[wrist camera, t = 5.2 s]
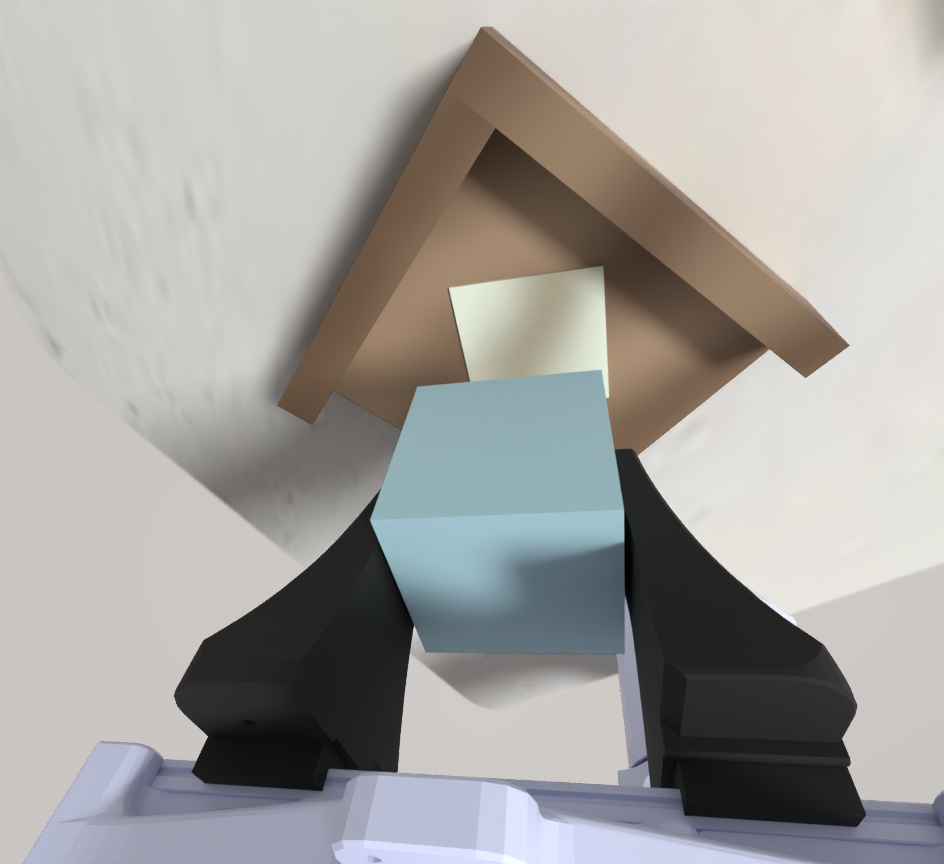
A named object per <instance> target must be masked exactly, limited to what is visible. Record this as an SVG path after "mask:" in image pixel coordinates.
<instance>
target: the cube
mask: <svg viewBox="0 0 944 864" xmlns="http://www.w3.org/2000/svg"><path fill="white" fill-rule="evenodd" d="M370 521H371V524H372V526H373V528H374V531H375V533H376V536H377V538H378V540H379V543H380V545H381V547H382V550H383V552H384V554H385V557H386V559H387V561H388V564H389V566H390V569H391V571H392V573H393V576H394V578H395V580H396V583H397V585H398V587H399V590H400V592H401V595H402V597H403V599H404V602H405V604H406V606H407V609H408V611H409V613H410V616H411V618H412V621H413V623H414V625H415V628H416V630H417V632H418V635H419V637H420V639H421V642H422V644H423V646H424V649H425V651H426V652H447V653H540V654H625V587H624V506H623V499H622V493H621V487H620V481H619V475H618V469H617V462H616V456H615V450H614V444H613V438H612V431H611V425H610V419H609V413H608V407H607V400H606V394H605V388H604V382H603V376H602V370H592V371H581V372H570V373H559V374H548V375H538V376H527V377H516V378H505V379H495V380H484V381H473V382H462V383H451V384H441V385H430V386H419V387H417V389H416V392H415V395H414V398H413V400H412V403H411V406H410V409H409V412H408V415H407V417H406V420H405V423H404V426H403V429H402V431H401V434H400V437H399V440H398V443H397V446H396V448H395V451H394V454H393V457H392V460H391V463H390V465H389V468H388V471H387V474H386V477H385V479H384V482H383V485H382V488H381V491H380V494H379V496H378V499H377V502H376V505H375V508H374V511H373V513H372V516H371V519H370Z"/></svg>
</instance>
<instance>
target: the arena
mask: <svg viewBox="0 0 944 864" xmlns="http://www.w3.org/2000/svg"><path fill="white" fill-rule="evenodd" d="M848 346H850V345H849V344H848V343H847V342H846V341H845V340H844V339H843V338H842V337H841V336H840V335H839V334H838V333H837V332H836V331H835V330H834V329H833V328H832V326H831V325H830V324H829V323H828V322H827V321H826V320H825V319H824V318H823V317H822V316H821V315H820V314H819V313H818V312H817V311H816V310H815V308H814V307H813V306H812V305H811V304H810V303H809V302H808V301H807V300H806V299H804V298H803V297H802V296H801V295H800V294H799V293H798V292H796V291H795V290H794V289H793V288H792V287H791V286H790V285H788V284H787V283H786V282H785V281H784V280H783V279H781V278H780V277H779V276H778V275H777V274H776V273H775V272H773V271H772V270H771V269H770V268H769V267H768V266H767V265H765V264H764V263H763V262H762V261H761V260H760V259H758V258H757V257H756V256H755V255H754V254H753V253H752V252H750V251H749V250H748V249H747V248H746V247H745V246H744V245H742V244H741V243H740V242H739V241H738V240H737V239H735V238H734V237H733V236H732V235H731V234H730V233H729V232H727V231H726V230H725V229H724V228H723V227H722V226H721V225H719V224H718V223H717V222H716V221H715V220H714V219H713V218H711V217H710V216H709V215H708V214H707V213H706V212H704V211H703V210H702V209H701V208H700V207H699V206H698V205H696V204H695V203H694V202H693V201H692V200H691V199H690V198H688V197H687V196H686V195H685V194H684V193H683V192H681V191H680V190H679V189H678V188H677V187H676V186H675V185H673V184H672V183H671V182H670V181H669V180H668V179H667V178H665V177H664V176H663V175H662V174H661V173H660V172H658V171H657V170H656V169H655V168H654V167H653V166H652V165H650V164H649V163H648V162H647V161H646V160H645V159H644V158H642V157H641V156H640V155H639V154H638V153H637V152H635V151H634V150H633V149H632V148H631V147H630V146H629V145H627V144H626V143H625V142H624V141H623V140H622V139H621V138H619V137H618V136H617V135H616V134H615V133H614V132H612V131H611V130H610V129H609V128H608V127H607V126H606V125H604V124H603V123H602V122H601V121H600V120H599V119H598V118H596V117H595V116H594V115H593V114H592V113H591V112H590V111H588V110H587V109H586V108H585V107H584V106H583V105H581V104H580V103H579V102H578V101H577V100H576V99H575V98H573V97H572V96H571V95H570V94H569V93H568V92H567V91H565V90H564V89H563V88H562V87H561V86H560V85H558V84H557V83H556V82H555V81H554V80H553V79H552V78H550V77H549V76H548V75H547V74H546V73H545V72H544V71H542V70H541V69H540V68H539V67H538V66H537V65H535V64H534V63H533V62H532V61H531V60H530V59H529V58H527V57H526V56H525V55H524V54H523V53H522V52H521V51H519V50H518V49H517V48H516V47H515V46H514V45H512V44H511V43H510V42H509V41H508V40H507V39H506V38H504V37H503V36H502V35H501V34H500V33H499V32H498V31H496V30H495V29H494V28H493V27H481V28H480V30H479V32H478V34H477V35H476V37H475V39H474V41H473V43H472V45H471V47H470V48H469V50H468V52H467V54H466V56H465V58H464V60H463V61H462V63H461V65H460V67H459V69H458V71H457V73H456V74H455V76H454V78H453V80H452V82H451V84H450V86H449V87H448V89H447V91H446V93H445V95H444V97H443V99H442V100H441V102H440V104H439V106H438V108H437V110H436V112H435V113H434V115H433V117H432V119H431V121H430V123H429V125H428V126H427V128H426V130H425V132H424V134H423V136H422V138H421V139H420V141H419V143H418V145H417V147H416V149H415V151H414V152H413V154H412V156H411V158H410V160H409V162H408V164H407V165H406V167H405V169H404V171H403V173H402V175H401V177H400V178H399V180H398V182H397V184H396V186H395V188H394V190H393V191H392V193H391V195H390V197H389V199H388V201H387V203H386V204H385V206H384V208H383V210H382V212H381V214H380V216H379V218H378V219H377V221H376V223H375V225H374V227H373V229H372V231H371V232H370V234H369V236H368V238H367V240H366V242H365V244H364V245H363V247H362V249H361V251H360V253H359V255H358V257H357V258H356V260H355V262H354V264H353V266H352V268H351V270H350V271H349V273H348V275H347V277H346V279H345V281H344V283H343V284H342V286H341V288H340V290H339V292H338V294H337V296H336V297H335V299H334V301H333V303H332V305H331V307H330V309H329V310H328V312H327V314H326V316H325V318H324V320H323V322H322V323H321V325H320V327H319V329H318V331H317V333H316V335H315V336H314V338H313V340H312V342H311V344H310V346H309V348H308V349H307V351H306V353H305V355H304V357H303V359H302V361H301V362H300V364H299V366H298V368H297V370H296V372H295V374H294V375H293V377H292V379H291V381H290V383H289V385H288V387H287V388H286V390H285V392H284V394H283V396H282V398H281V400H280V401H279V403H278V405H277V406H279V407H281V408H283V409H285V410H286V411H288V412H290V413H292V414H294V415H295V416H297V417H299V418H301V419H303V420H304V421H306V422H308V423H310V424H312V425H313V423H314V421H315V420H316V418H317V417H318V415H319V413H320V412H321V410H322V408H323V407H324V405H325V404H326V402H327V400H328V399H329V397H330V395H331V394H332V392H333V391H335V392H337V393H338V394H340V395H342V396H343V397H345V398H347V399H349V400H350V401H352V402H354V403H356V404H357V405H359V406H361V407H363V408H364V409H366V410H368V411H369V412H371V413H373V414H375V415H376V416H378V417H380V418H382V419H383V420H385V421H387V422H388V423H390V424H392V425H394V426H395V427H397V428H399V429H401V430H402V429H403V426H404V423H405V420H406V417H407V415H408V412H409V409H410V406H411V403H412V400H413V398H414V395H415V392H416V389H417V387H419V386H430V385H441V384H451V383H462V382H473V381H484V380H495V379H505V378H516V377H527V376H538V375H548V374H559V373H570V372H581V371H592V370H602V376H603V382H604V388H605V394H606V400H607V407H608V413H609V419H610V425H611V431H612V438H613V444H614V450H615V449H633V450H634V451H635V452H636V454H637V455H639V454H640V453H641V452H642V451H644V450H645V449H646V448H647V447H649V446H650V445H651V444H652V443H654V442H655V441H656V440H657V439H659V438H660V437H661V436H662V435H664V434H665V433H666V432H667V431H669V430H670V429H671V428H672V427H674V426H675V425H676V424H677V423H678V422H680V421H681V420H682V419H683V418H685V417H686V416H687V415H688V414H690V413H691V412H692V411H693V410H695V409H696V408H697V407H698V406H700V405H701V404H702V403H703V402H705V401H706V400H707V399H708V398H710V397H711V396H712V395H713V394H715V393H716V392H717V391H718V390H719V389H721V388H722V387H723V386H724V385H726V384H727V383H728V382H729V381H731V380H732V379H733V378H734V377H736V376H737V375H738V374H739V373H741V372H742V371H743V370H744V369H746V368H747V367H748V366H749V365H751V364H752V363H753V362H754V361H756V360H757V359H758V358H759V357H760V356H762V355H763V354H764V353H765V352H767V351H768V350H769V349H770V350H771V351H773V352H774V353H775V354H776V355H778V356H779V357H780V358H781V359H783V360H784V361H785V362H786V363H788V364H789V365H790V366H791V367H792V368H794V369H795V370H796V371H797V372H799V373H800V374H801V375H802V376H804V377H805V378H806V377H808V376H809V375H811V374H812V373H813V372H815V371H816V370H817V369H819V368H820V367H821V366H823V365H824V364H825V363H827V362H828V361H829V360H831V359H832V358H834V357H835V356H836V355H838V354H839V353H840V352H842V351H843V350H844V349H846V348H847V347H848Z"/></svg>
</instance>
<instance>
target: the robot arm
mask: <svg viewBox="0 0 944 864" xmlns="http://www.w3.org/2000/svg"><path fill="white" fill-rule="evenodd" d="M615 456H616V462H617V469H618V475H619V481H620V487H621V493H622V499H623V506H624V587H625V654H616V655H617V664H618V673H619V682H620V691H621V700H622V708H623V717H624V727H625V735H626V744H627V753H628V762H629V769H626V770H619V771H618V781H619V786H617V785H600V784H582V783H565V782H546V781H530V780H513V779H496V778H479V777H461V776H444V775H427V774H426V775H425V774H410V773H397V771H398V759H399V746H400V733H401V723H402V714H403V703H404V694H405V686H406V678H407V670H408V662H409V655H410V648H411V641H412V634H413V628H414V623H413V621H412V618H411V616H410V613H409V611H408V609H407V606H406V604H405V602H404V599H403V597H402V595H401V592H400V590H399V587H398V585H397V583H396V580H395V578H394V576H393V573H392V571H391V569H390V566H389V564H388V561H387V559H386V557H385V554H384V552H383V550H382V547H381V545H380V543H379V540H378V538H377V536H376V533H375V531H374V528H373V526H372V524H371V521H370V519H371V516H372V513H373V511H374V508H375V505H376V502H377V499H378V496H379V494H380V491H381V489H380V490H379V492H378V493H377V494H376V495H375V497H374V498H373V499H372V500H371V502H370V503H369V504H368V505H367V506H366V508H365V509H364V510H363V511H362V513H361V514H360V515H359V516H358V517H357V519H356V520H355V521H354V522H353V523H352V524H351V525H350V526H349V527H348V529H347V530H346V531H345V532H344V533H343V534H342V535H341V536H340V537H339V538H338V540H337V541H336V542H335V543H334V544H333V545H332V546H331V547H330V548H329V549H328V550H327V551H326V552H325V553H324V554H322V555H321V556H320V557H319V558H318V559H317V560H316V561H315V562H314V563H313V564H312V565H310V566H309V567H308V568H307V569H306V570H305V571H303V572H302V573H301V574H300V575H299V576H297V577H296V578H295V579H294V580H292V582H290V583H289V584H288V585H286V586H285V587H284V588H283V589H281V590H280V591H279V592H277V593H276V594H275V595H273V596H272V597H271V598H270V599H268V600H266V601H265V602H264V603H262V604H261V605H259V606H258V607H257V608H255V609H253V610H252V611H251V612H249V613H248V614H246V615H245V616H243V617H242V618H240V619H238V620H237V621H235V622H233V623H232V624H230V625H228V626H227V627H225V628H224V629H222V630H220V631H219V632H217V633H215V634H214V635H212V636H210V637H208V638H207V639H205V640H204V641H203V642H202V644H201V645H200V647H199V649H198V651H197V653H196V654H195V656H194V658H193V660H192V661H191V663H190V665H189V667H188V669H187V671H186V672H185V674H184V676H183V678H182V679H181V681H180V683H179V685H178V687H177V689H176V691H175V694H174V697H175V701H176V704H177V706H178V707H179V709H180V710H181V711H182V712H183V713H184V714H185V715H186V716H187V717H188V718H189V719H190V720H191V721H192V722H193V723H195V725H197V726H198V727H199V728H200V729H201V730H202V731H203V732H204V733H205V734H206V735H207V736H208V738H207V740H206V742H205V744H204V747H203V748H202V750H201V753H200V755H199V757H198V759H197V761H185V760H169V759H163V757H162V756H161V755H160V754H159V753H158V752H157V751H156V750H154V749H153V748H151V747H149V746H146V745H143V744H138V743H125V742H104V741H102V742H99V743H97V745H96V746H95V748H94V750H93V751H92V753H91V754H90V756H89V757H88V759H87V761H86V762H85V764H84V765H83V767H82V769H81V770H80V772H79V773H78V775H77V777H76V778H75V780H74V782H73V783H72V785H71V786H70V788H69V790H68V791H67V793H66V794H65V796H64V798H63V799H62V801H61V802H60V804H59V805H58V807H57V809H56V810H55V812H54V814H53V815H52V817H51V818H50V820H49V822H48V823H47V825H46V827H45V828H44V830H43V831H42V833H41V834H40V836H39V838H38V839H37V841H36V842H35V844H34V846H33V848H32V849H31V851H30V852H29V854H28V855H27V857H26V859H25V860H24V862H23V863H22V864H944V790H943V791H942V792H940V793H939V794H938V795H937V797H936V799H935V801H934V803H933V804H927V803H909V802H893V801H874V800H860V797H859V795H858V793H857V790H856V788H855V785H854V783H853V780H852V778H851V775H850V773H849V771H848V768H847V766H850V764H851V762H850V757H849V755H848V752H847V750H846V747H845V745H844V743H843V740H842V738H843V736H844V734H845V732H846V730H847V728H848V727H849V725H850V723H851V721H852V720H853V718H854V716H855V714H856V709H857V703H856V701H855V699H854V696H853V693H852V691H851V688H850V686H849V684H848V683H847V681H846V679H845V677H844V676H843V674H842V672H841V670H840V669H839V668H838V666H837V664H836V662H835V661H834V659H833V658H832V656H831V655H830V653H829V652H828V650H827V649H826V647H825V646H824V645H823V644H822V643H820V642H819V641H817V640H816V639H815V638H813V637H812V636H810V635H808V634H807V633H806V632H804V631H803V630H801V629H800V628H798V627H797V623H796V621H795V619H794V618H793V617H791V616H789V615H788V614H786V613H785V612H783V611H781V610H780V609H778V608H776V607H775V606H773V605H771V604H770V603H768V602H766V601H765V600H763V599H762V598H760V597H758V596H757V595H755V594H754V593H752V592H751V591H750V590H749V589H748V588H747V587H745V586H744V585H743V584H742V583H741V582H740V581H738V580H737V579H736V578H735V577H734V576H733V575H731V574H730V573H729V572H728V571H727V570H726V569H725V568H724V567H723V566H722V565H721V564H720V563H719V562H718V561H717V560H716V559H715V558H714V557H713V556H712V555H711V554H710V553H709V552H708V551H707V550H706V549H705V548H704V547H703V546H702V545H701V544H700V543H699V542H698V541H697V540H696V538H695V537H694V536H693V535H692V534H691V533H690V532H689V530H688V529H687V528H686V527H685V526H684V524H683V523H682V522H681V521H680V520H679V518H678V517H677V516H676V515H675V513H674V512H673V511H672V509H671V508H670V507H669V505H668V504H667V503H666V501H665V500H664V498H663V497H662V496H661V494H660V493H659V492H658V490H657V489H656V487H655V486H654V484H653V482H652V481H651V479H650V478H649V476H648V474H647V473H646V471H645V469H644V468H643V466H642V464H641V462H640V460H639V458H638V456H637V454H636V452H635V451H634V450H633V449H615Z"/></svg>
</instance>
